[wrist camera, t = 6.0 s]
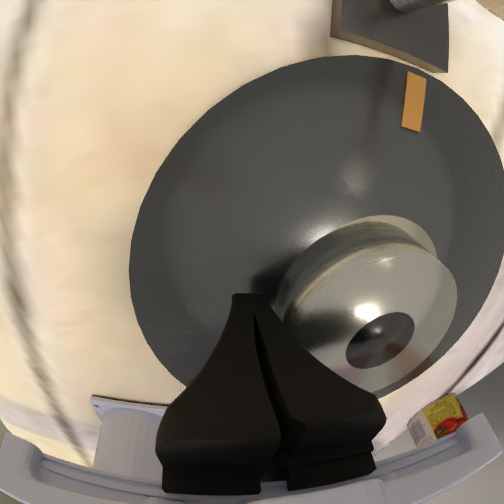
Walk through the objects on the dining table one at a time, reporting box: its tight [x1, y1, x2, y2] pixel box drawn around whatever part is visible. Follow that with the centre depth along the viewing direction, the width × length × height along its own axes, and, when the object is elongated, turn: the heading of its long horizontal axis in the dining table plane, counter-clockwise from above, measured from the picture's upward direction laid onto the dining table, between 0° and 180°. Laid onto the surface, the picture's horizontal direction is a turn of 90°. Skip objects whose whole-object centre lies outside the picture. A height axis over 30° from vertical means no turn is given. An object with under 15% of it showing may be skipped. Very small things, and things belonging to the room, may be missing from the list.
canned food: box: [407, 393, 469, 448], centre depth 23 cm, size 8×8×12 cm
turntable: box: [129, 55, 504, 399], centre depth 14 cm, size 22×22×2 cm
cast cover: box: [274, 222, 457, 393], centre depth 12 cm, size 8×8×3 cm
